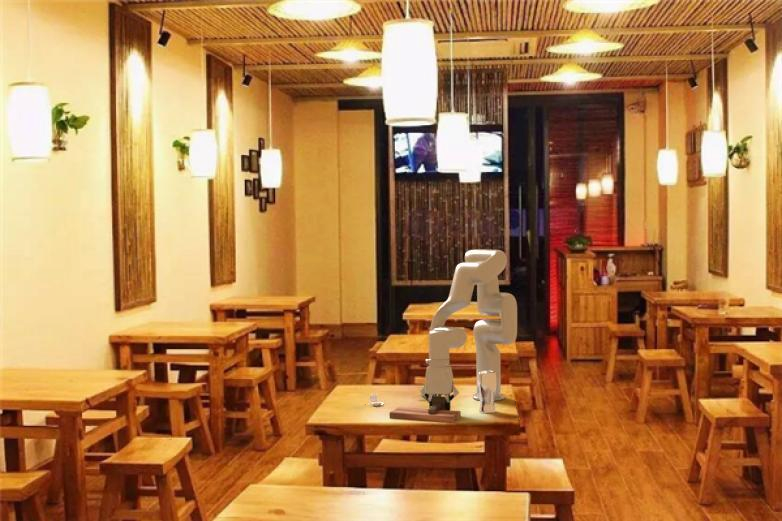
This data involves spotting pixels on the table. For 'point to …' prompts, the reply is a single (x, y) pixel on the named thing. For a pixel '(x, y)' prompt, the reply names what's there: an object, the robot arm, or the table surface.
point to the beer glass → (487, 390)
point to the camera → (437, 404)
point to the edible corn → (424, 395)
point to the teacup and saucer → (374, 400)
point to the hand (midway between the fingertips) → (439, 411)
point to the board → (425, 414)
